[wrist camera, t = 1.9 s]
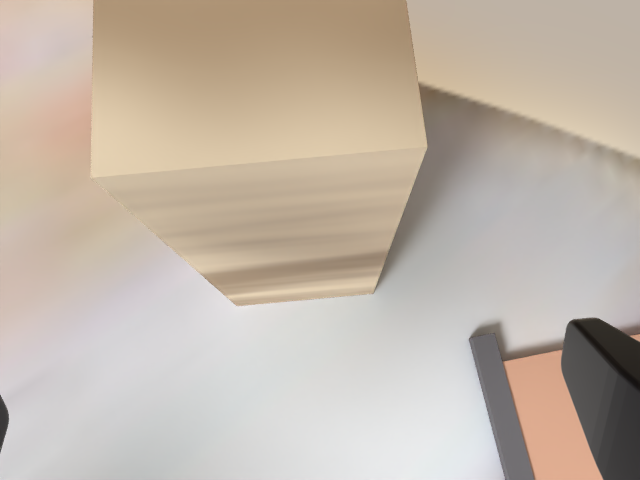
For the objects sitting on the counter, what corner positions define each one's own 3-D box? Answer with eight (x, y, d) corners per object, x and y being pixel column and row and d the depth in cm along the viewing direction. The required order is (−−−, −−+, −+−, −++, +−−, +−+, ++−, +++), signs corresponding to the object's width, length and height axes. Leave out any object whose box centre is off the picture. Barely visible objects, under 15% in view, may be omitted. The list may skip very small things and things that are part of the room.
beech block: (373, 293, 21) (427, 147, 9) (237, 305, 21) (90, 177, 9) (358, 166, 22) (387, -125, 10) (230, 178, 22) (94, -97, 10)
